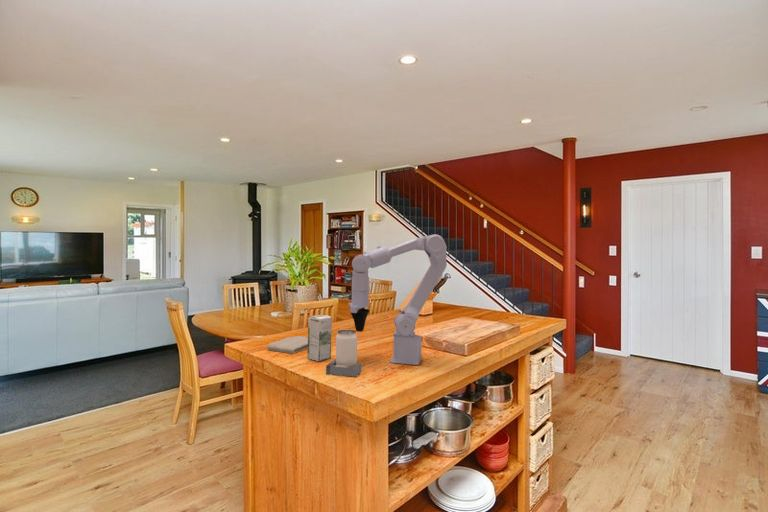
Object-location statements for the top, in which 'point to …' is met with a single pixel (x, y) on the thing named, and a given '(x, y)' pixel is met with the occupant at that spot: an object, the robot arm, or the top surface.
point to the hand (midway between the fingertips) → (359, 331)
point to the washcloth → (289, 344)
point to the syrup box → (319, 337)
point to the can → (346, 348)
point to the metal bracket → (343, 369)
